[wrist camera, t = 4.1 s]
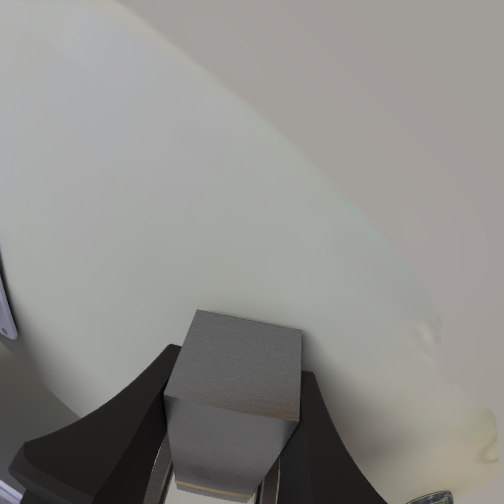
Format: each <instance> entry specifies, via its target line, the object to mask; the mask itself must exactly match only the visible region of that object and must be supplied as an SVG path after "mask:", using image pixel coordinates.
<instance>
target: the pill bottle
mask: <svg viewBox="0 0 504 504" xmlns="http://www.w3.org/2000/svg"><path fill="white" fill-rule="evenodd" d="M408 504H453V498H452V494H451V493H450V492H447V491H444V492H438V493H433V494H430V495H427V496H424V497H421V498H419V499H416V500H414V501H412V502H410V503H408Z"/></svg>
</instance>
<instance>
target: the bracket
mask: <svg viewBox="0 0 504 504" xmlns="http://www.w3.org/2000/svg"><path fill="white" fill-rule="evenodd" d="M279 458H280V454H279V456H278V457H277V459H276V460H275V462H274V463H273V465H272V466H271V468H270V470H269V471H268V473H267V474H266V476H265V477H264V479H263V480H262V488H261V496H260V504H275V503H276V492H277V482H278V470H279ZM171 462H172V456H171V449H170V442H169V435H168V431H167V433H166V435H165V437H164V440H163V442H162V445H161V448H160V451H159V454H158V457H157V459H156V462H155V465H154V468H153V471H152V474H151V477H150V480H149V483H148V487H147V490H146V494H145V498H144V502H143V504H158V503H159V500H160V497H161V494H162V490H163V487H164V484H165V481H166V478H167V475H168V471H169V468H170V465H171Z"/></svg>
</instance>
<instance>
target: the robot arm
mask: <svg viewBox="0 0 504 504" xmlns="http://www.w3.org/2000/svg"><path fill="white" fill-rule="evenodd" d="M0 333H1V334H3V335H5V336H6V337H8V338H10V339H12V340H15V339H16V338H17V336H18V334H17V330H16V327H15V324H14V321H13V318H12V315H11V312H10V309H9V305H8V302H7V299H6V295H5V291H4V288H3V284H2V280H1V276H0ZM181 348H182V346H178V345H174V344H169V345H168V346H167V347H166V348H165V349H164V350H163V352H162V353H161V354H160V355H159V356H158V357H157V358H156V359H155V360H154V361H153V362H152V363H151V364H150V365H149V366H148V368H146V369H145V370H144V371H143V372H142V373H141V374H140V375H139V376H138V377H137V378H136V379H135V380H134V381H133V382H132V383H130V384H129V385H128V386H127V387H126V388H124V389H123V390H122V391H121V392H120V393H118V394H117V395H116V396H115V397H113V398H112V399H111V400H109V401H108V402H107V403H105V404H104V405H102V406H101V407H99V408H98V409H96V410H95V411H93V412H92V413H90V414H88V415H87V416H85V417H83V418H82V419H80V420H78V421H76V422H74V423H72V424H70V425H68V426H66V427H64V428H62V429H60V430H58V431H55V432H53V433H51V434H48V435H45V436H43V437H39V438H37V439H34V440H31V441H28V442H25V443H24V444H23V446H22V447H21V448H20V449H19V451H18V452H17V454H16V455H15V457H14V459H13V461H12V463H11V464H10V466H9V468H8V470H9V473H10V474H11V475H12V476H13V477H14V478H15V479H16V480H17V481H19V483H21V484H22V485H23V486H24V487H25V488H26V491H25V493H24V495H22V494H20V493H19V492H17V491H16V490H14V489H13V488H11V487H10V486H8V485H7V484H5V483H4V482H3V481H1V480H0V504H143V502H144V498H145V494H146V490H147V487H148V483H149V480H150V476H151V473H152V469H153V466H154V463H155V459H156V457H157V454H158V451H159V449H160V446H161V444H162V442H163V440H164V437H165V435H166V433H167V430H168V428H167V420H166V412H165V403H164V392H165V389H166V386H167V384H168V381H169V379H170V376H171V374H172V371H173V368H174V366H175V363H176V361H177V358H178V356H179V353H180V351H181ZM277 504H387V502H386V501H385V500H384V499H383V498H382V497H381V496H380V495H379V494H378V493H377V492H376V490H375V489H374V488H373V487H372V485H371V484H370V483H369V482H368V480H367V479H366V478H365V477H364V475H363V474H362V473H361V471H360V470H359V468H358V467H357V465H356V464H355V462H354V461H353V459H352V458H351V456H350V454H349V453H348V451H347V449H346V448H345V446H344V444H343V442H342V440H341V438H340V437H339V435H338V433H337V431H336V429H335V427H334V424H333V422H332V420H331V418H330V415H329V413H328V411H327V408H326V406H325V404H324V401H323V398H322V396H321V393H320V390H319V387H318V384H317V381H316V378H315V375H314V373H313V372H307V371H301V386H300V412H299V423H298V424H297V426H296V428H295V429H294V431H293V433H292V434H291V436H290V438H289V439H288V441H287V443H286V444H285V446H284V448H283V449H282V451H281V452H280V484H279V491H278V498H277Z"/></svg>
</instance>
